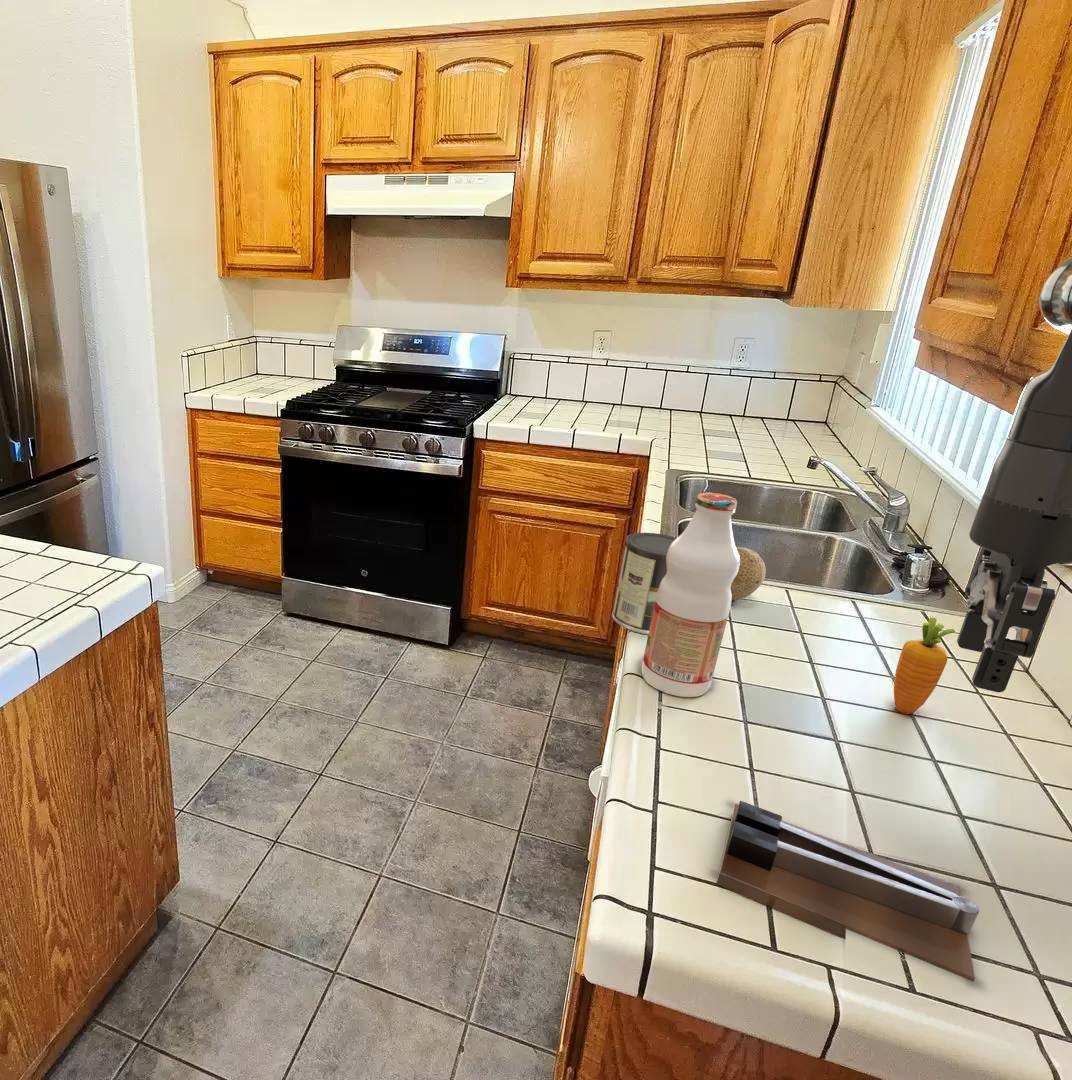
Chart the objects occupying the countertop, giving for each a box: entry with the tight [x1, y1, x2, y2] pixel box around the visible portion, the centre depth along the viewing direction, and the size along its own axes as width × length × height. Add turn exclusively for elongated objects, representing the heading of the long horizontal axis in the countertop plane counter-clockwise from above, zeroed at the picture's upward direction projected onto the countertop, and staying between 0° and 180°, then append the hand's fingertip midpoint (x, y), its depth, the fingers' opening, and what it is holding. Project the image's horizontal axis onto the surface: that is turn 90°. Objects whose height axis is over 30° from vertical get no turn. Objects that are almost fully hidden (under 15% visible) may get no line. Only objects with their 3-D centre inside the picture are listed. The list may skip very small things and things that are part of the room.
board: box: [715, 803, 976, 982], centre depth 73 cm, size 20×12×2 cm, turn 58°
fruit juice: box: [641, 491, 740, 698], centre depth 104 cm, size 9×9×28 cm
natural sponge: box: [730, 546, 767, 601], centre depth 135 cm, size 9×9×10 cm
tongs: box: [727, 800, 980, 934], centre depth 73 cm, size 20×6×2 cm, turn 57°
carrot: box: [893, 617, 956, 715], centre depth 100 cm, size 5×5×15 cm
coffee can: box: [611, 532, 677, 635], centre depth 124 cm, size 10×10×14 cm
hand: (978, 667), depth 69 cm, fingers open, 8 cm apart
